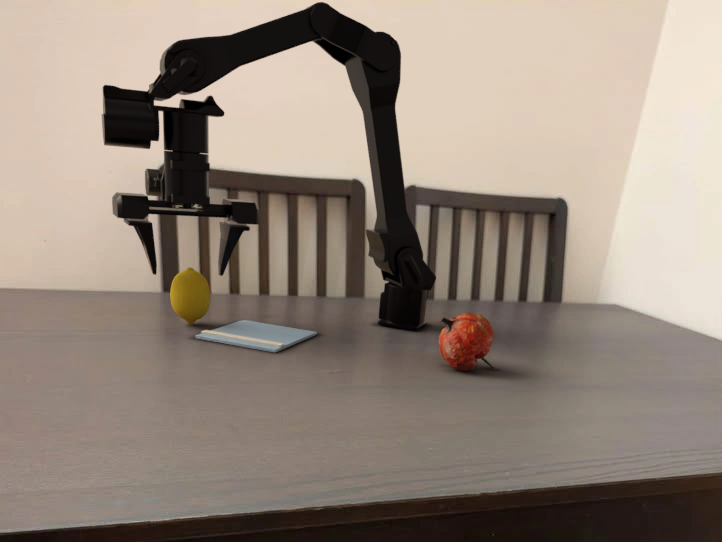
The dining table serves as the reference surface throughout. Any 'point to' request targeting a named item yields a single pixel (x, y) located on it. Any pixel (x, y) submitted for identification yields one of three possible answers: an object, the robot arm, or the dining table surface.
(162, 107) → the robot arm
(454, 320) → the pomegranate
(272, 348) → the towel
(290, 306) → the dining table surface
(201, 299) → the lemon
